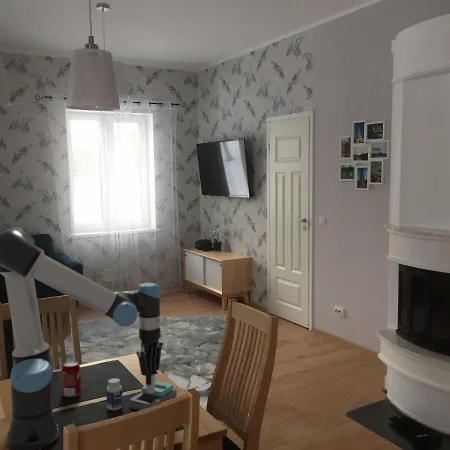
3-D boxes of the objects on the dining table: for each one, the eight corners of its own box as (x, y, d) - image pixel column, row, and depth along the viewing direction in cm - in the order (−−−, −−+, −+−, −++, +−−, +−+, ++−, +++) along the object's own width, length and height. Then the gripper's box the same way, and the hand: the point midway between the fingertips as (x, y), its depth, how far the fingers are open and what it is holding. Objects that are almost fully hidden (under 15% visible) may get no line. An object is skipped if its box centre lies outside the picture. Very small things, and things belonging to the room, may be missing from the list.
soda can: (75, 399, 187) (74, 367, 186) (58, 397, 188) (57, 365, 187) (84, 391, 193) (83, 360, 192) (67, 390, 195) (67, 359, 194)
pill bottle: (114, 412, 177) (114, 384, 176) (103, 408, 180) (102, 381, 179) (125, 406, 181) (125, 379, 180) (114, 402, 184) (113, 376, 183)
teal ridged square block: (161, 397, 181) (161, 390, 181) (141, 392, 185) (141, 385, 185) (172, 389, 188) (172, 382, 187) (153, 385, 191) (153, 378, 191)
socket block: (153, 413, 175) (152, 405, 175) (129, 407, 180) (129, 399, 180) (176, 397, 189) (176, 389, 188) (154, 392, 193) (154, 384, 193)
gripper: (147, 333, 172) (148, 401, 174) (168, 324, 184) (169, 387, 186) (129, 330, 176) (130, 397, 178) (151, 321, 187) (152, 383, 189)
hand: (150, 392), depth 182 cm, fingers closed
